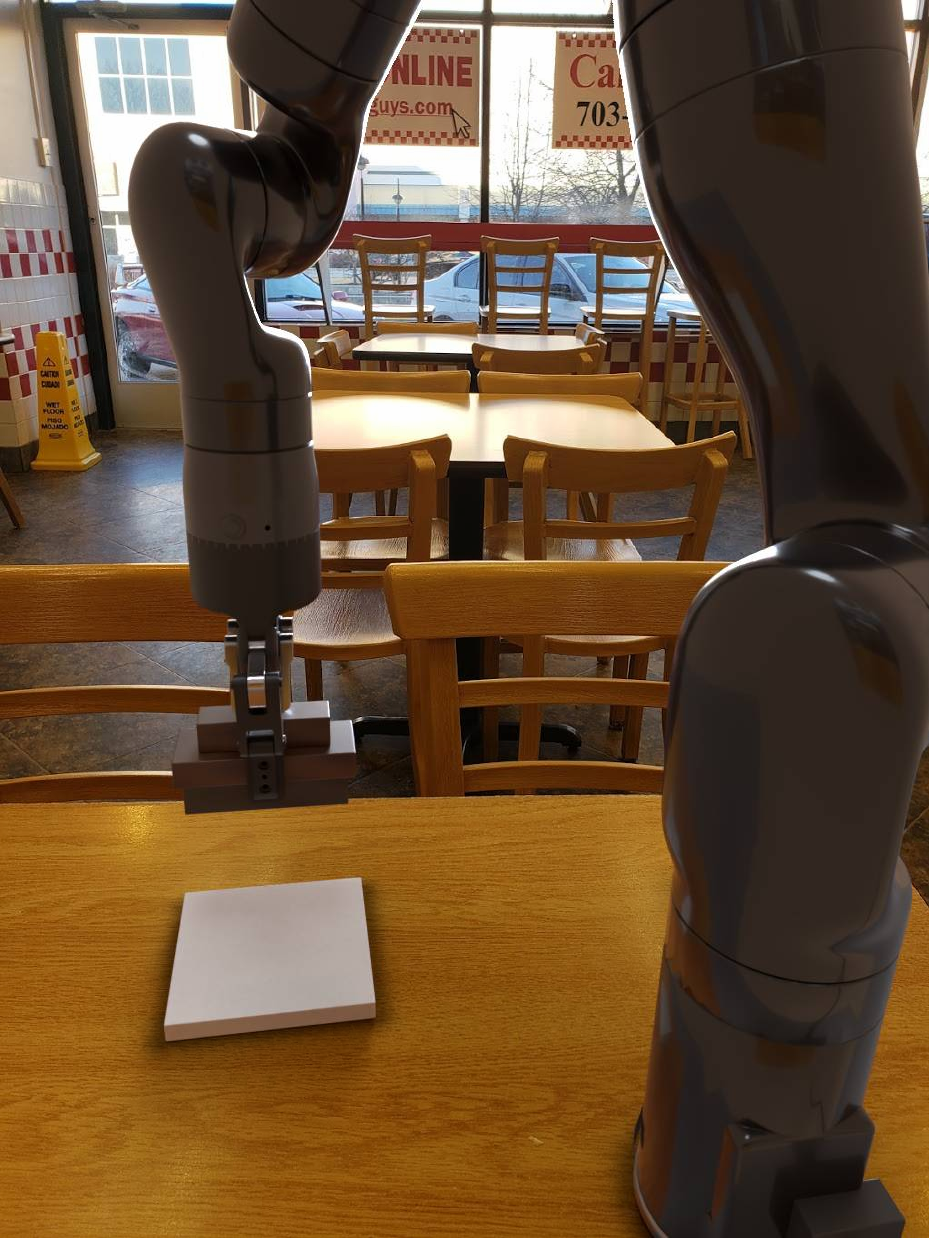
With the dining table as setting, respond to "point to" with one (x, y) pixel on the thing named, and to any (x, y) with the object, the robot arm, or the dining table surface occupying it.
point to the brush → (310, 761)
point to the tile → (270, 959)
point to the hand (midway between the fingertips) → (267, 777)
